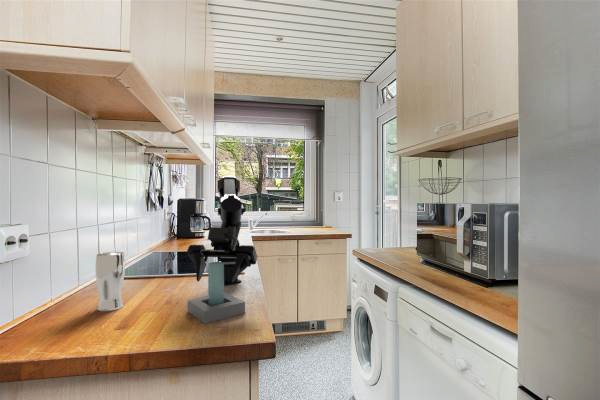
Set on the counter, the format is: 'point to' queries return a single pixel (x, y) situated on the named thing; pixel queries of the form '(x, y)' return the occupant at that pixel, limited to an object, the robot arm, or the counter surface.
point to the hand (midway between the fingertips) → (214, 281)
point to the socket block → (216, 308)
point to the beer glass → (110, 280)
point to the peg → (215, 283)
